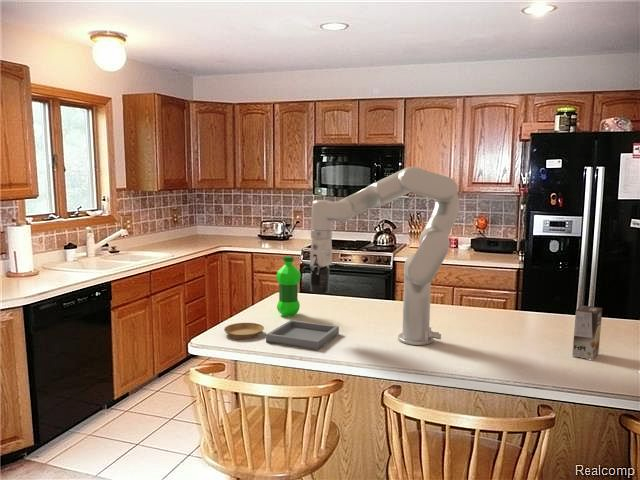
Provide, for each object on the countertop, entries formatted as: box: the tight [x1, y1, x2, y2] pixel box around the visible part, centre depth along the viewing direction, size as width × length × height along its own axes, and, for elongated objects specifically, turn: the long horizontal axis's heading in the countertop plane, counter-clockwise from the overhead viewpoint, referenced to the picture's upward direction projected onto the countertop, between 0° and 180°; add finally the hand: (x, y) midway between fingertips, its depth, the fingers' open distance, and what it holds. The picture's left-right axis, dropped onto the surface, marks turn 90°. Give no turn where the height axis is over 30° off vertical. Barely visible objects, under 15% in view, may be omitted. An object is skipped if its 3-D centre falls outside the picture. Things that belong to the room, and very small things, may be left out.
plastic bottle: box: [275, 255, 302, 318], centre depth 221 cm, size 10×10×25 cm
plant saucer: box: [223, 322, 265, 340], centre depth 196 cm, size 15×15×3 cm
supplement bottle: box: [309, 264, 330, 294], centre depth 190 cm, size 7×7×12 cm
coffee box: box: [571, 305, 603, 361], centre depth 176 cm, size 9×6×16 cm
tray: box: [265, 319, 340, 351], centre depth 192 cm, size 20×20×3 cm
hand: (319, 282), depth 191 cm, fingers closed on supplement bottle, 6 cm apart
